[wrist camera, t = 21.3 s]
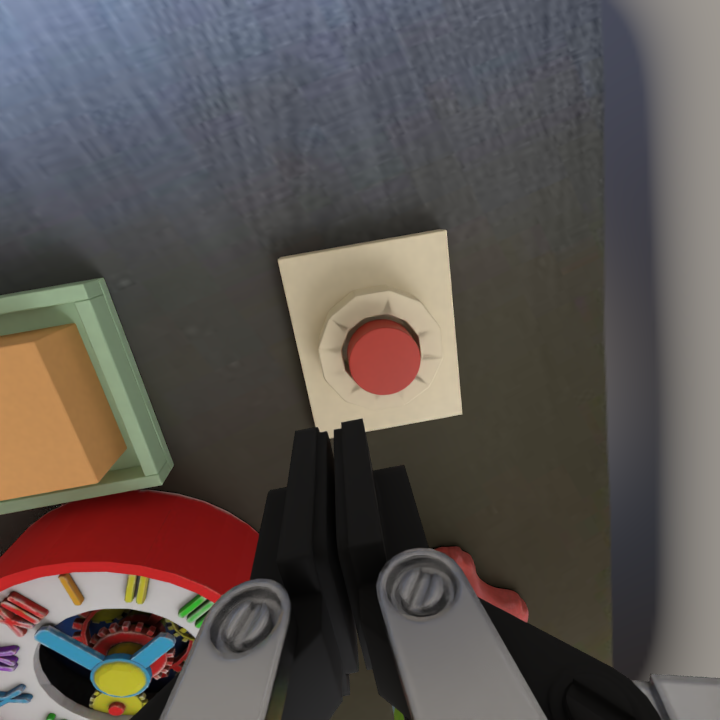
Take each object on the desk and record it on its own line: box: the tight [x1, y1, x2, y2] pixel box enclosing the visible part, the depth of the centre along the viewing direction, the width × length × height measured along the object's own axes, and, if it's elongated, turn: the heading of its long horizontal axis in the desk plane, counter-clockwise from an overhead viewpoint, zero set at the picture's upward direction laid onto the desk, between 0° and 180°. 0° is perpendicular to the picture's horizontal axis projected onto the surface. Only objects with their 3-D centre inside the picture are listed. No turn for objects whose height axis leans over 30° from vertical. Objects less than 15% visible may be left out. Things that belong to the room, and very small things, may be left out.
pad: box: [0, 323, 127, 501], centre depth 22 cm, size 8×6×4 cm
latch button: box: [347, 319, 421, 395], centre depth 21 cm, size 4×4×2 cm
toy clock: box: [0, 490, 259, 720], centre depth 27 cm, size 20×6×20 cm
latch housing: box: [278, 229, 462, 438], centre depth 23 cm, size 11×9×3 cm
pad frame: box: [0, 278, 174, 515], centre depth 23 cm, size 12×10×2 cm
